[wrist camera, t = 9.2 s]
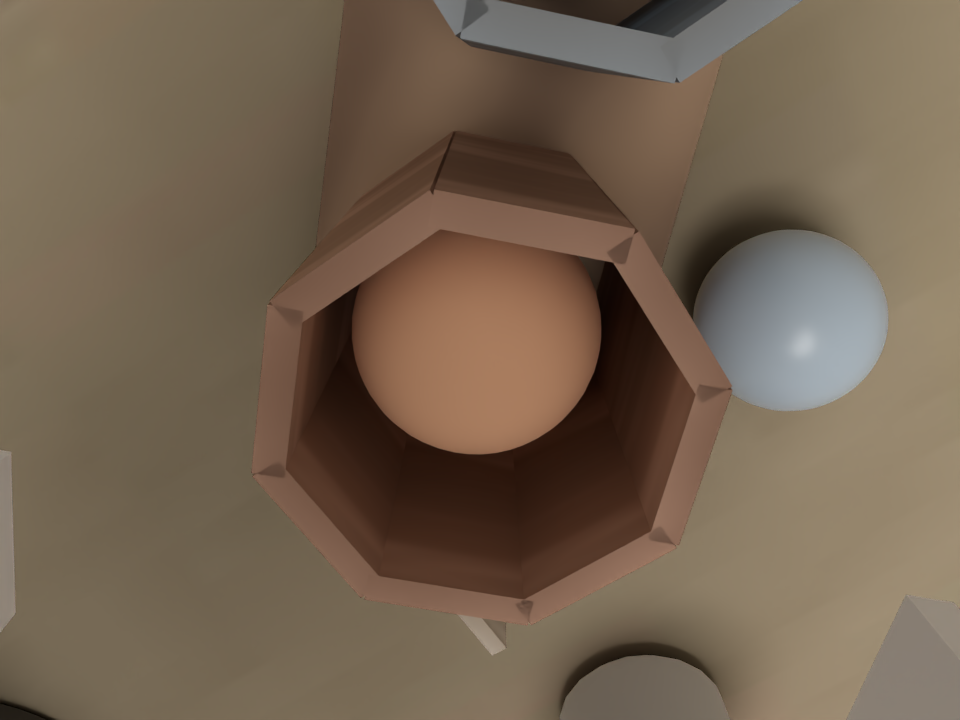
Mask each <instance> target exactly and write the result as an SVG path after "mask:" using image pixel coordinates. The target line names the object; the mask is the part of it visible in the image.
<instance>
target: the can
mask: <svg viewBox="0 0 960 720" xmlns="http://www.w3.org/2000/svg"><path fill="white" fill-rule="evenodd" d="M560 720H730V718H729V715H728V712H727V710H726V707H725V704H724V702H723V700H722V697H721V695H720V693H719V690H718V688H717V686H716V685H715V684H714V683H713V682H712V681H711V680H710V679H709V678H708V677H707V676H706V675H705V674H704V673H703V672H702V671H701V670H699V669H697V668H695V667H693V666H691V665H689V664H687V663H685V662H683V661H681V660H678V659H673V658H667V657H661V656H655V655H638V656H626V657H623V658H620V659H617V660H614V661H611V662H608V663H606V664H604V665H601V666H600V667H598V668H597V669H595V670H594V671H592V672H591V673H589V674H588V675H586V676H585V677H583V678H582V679H580V680H579V682H578V683H577V684H576V685H575V686H574V688H573V689H572V690H571V691H570V693H569V694H568V695H567V696H566V698H565V702H564V705H563V708H562V711H561V714H560Z"/></svg>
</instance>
